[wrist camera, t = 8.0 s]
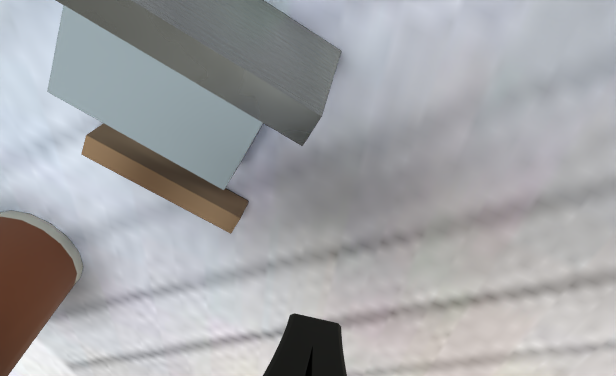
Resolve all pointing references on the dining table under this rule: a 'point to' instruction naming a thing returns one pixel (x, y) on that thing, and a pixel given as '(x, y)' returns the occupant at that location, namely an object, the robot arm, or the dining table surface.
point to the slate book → (148, 101)
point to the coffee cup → (31, 280)
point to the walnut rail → (163, 177)
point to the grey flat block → (231, 53)
